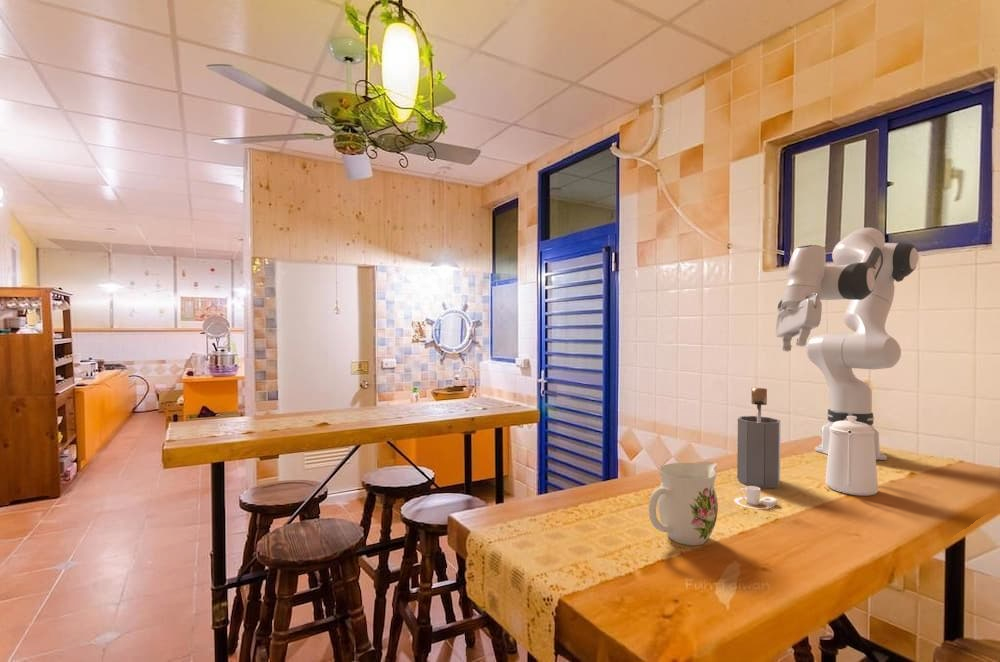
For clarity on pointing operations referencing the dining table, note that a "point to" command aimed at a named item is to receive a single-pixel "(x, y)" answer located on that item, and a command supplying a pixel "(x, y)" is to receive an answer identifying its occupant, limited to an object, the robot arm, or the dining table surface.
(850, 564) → the dining table surface
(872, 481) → the coffeepot
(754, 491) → the teacup and saucer
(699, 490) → the pitcher
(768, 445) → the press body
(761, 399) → the plunger
